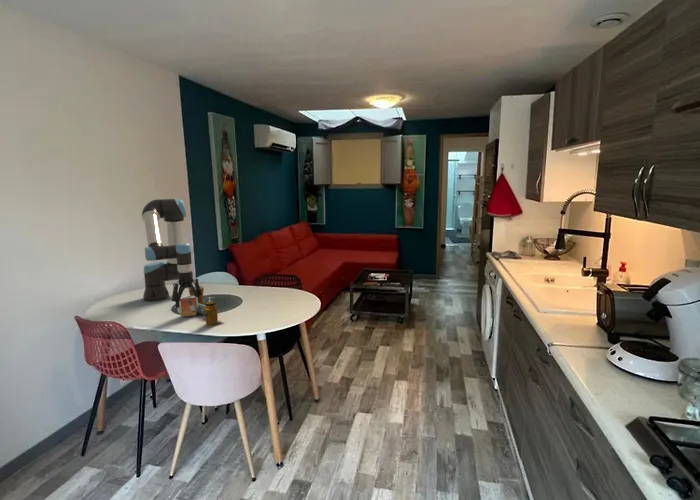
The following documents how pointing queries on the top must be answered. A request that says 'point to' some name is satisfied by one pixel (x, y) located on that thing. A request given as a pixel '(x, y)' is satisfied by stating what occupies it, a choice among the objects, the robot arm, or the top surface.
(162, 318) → the top surface
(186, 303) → the small box
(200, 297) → the disposable coffee cup
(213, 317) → the condiment
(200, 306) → the door
